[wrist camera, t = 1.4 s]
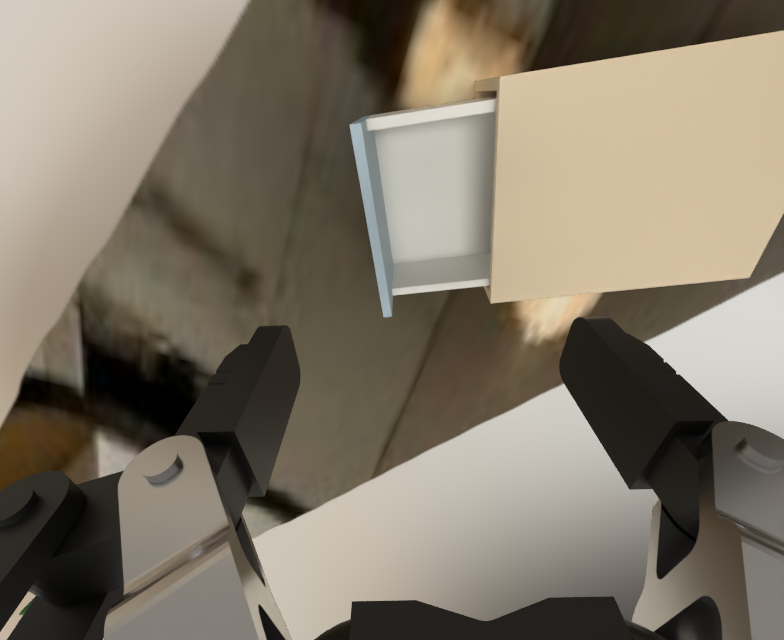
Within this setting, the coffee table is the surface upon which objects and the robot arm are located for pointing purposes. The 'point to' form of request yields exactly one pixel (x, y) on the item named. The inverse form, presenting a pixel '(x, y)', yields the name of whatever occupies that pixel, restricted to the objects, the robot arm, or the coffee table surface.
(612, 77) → the sleeve
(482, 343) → the coffee table surface
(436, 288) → the inner tray
